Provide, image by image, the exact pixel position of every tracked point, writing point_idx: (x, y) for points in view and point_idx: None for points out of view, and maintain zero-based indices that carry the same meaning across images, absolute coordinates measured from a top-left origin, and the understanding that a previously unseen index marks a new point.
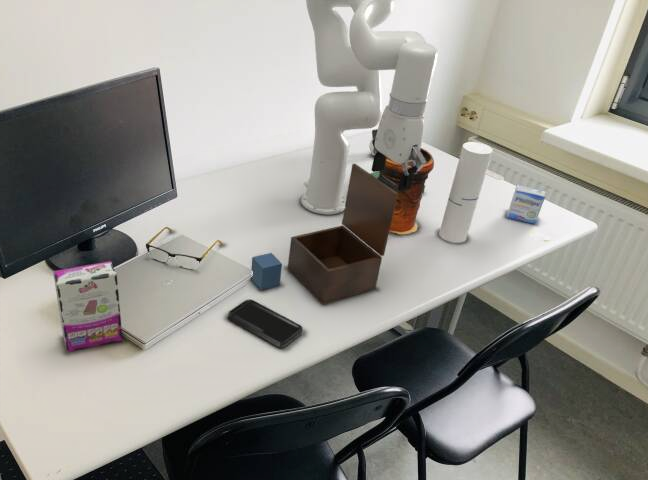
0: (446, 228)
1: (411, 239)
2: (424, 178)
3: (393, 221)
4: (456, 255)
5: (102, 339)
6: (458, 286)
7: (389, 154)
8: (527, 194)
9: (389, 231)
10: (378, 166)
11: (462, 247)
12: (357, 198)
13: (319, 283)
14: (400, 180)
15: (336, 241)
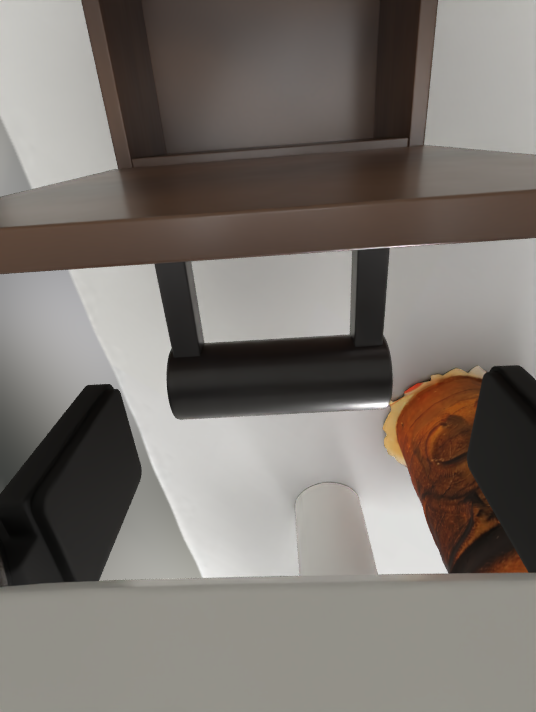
0: (327, 507)
1: (357, 418)
2: None
3: (427, 412)
4: (250, 469)
5: None
6: (126, 399)
7: (200, 679)
8: None
9: (415, 386)
10: (499, 437)
11: (276, 497)
12: (392, 163)
13: None
14: (59, 441)
15: (390, 118)
